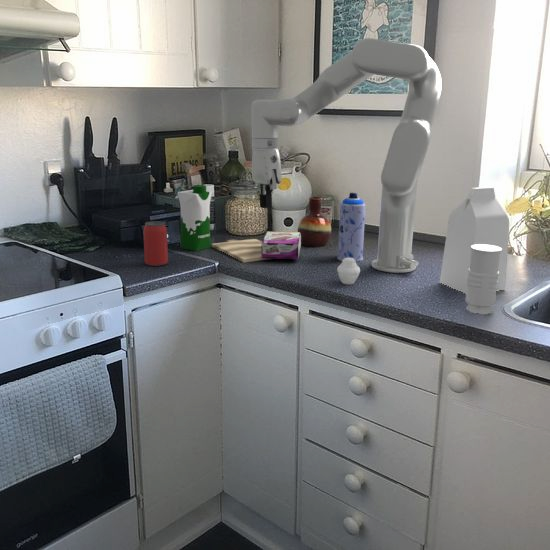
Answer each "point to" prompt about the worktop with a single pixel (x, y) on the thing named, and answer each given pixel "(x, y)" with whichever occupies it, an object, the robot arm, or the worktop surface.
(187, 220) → the milk carton
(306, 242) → the vase
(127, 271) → the worktop surface
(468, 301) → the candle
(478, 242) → the milk
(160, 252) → the beer can
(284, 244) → the candy bar box
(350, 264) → the white rounded jar
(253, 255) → the cutting board
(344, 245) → the aerosol can
